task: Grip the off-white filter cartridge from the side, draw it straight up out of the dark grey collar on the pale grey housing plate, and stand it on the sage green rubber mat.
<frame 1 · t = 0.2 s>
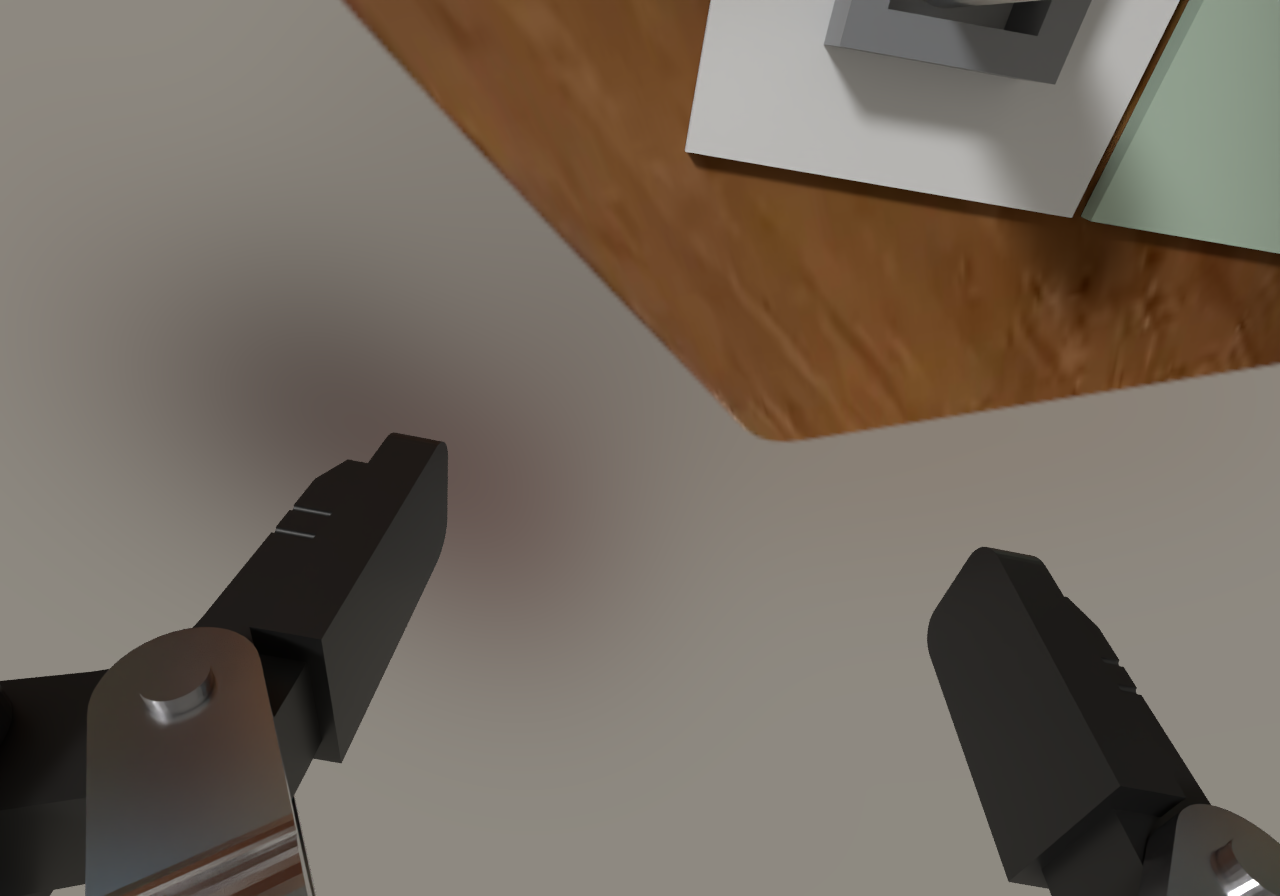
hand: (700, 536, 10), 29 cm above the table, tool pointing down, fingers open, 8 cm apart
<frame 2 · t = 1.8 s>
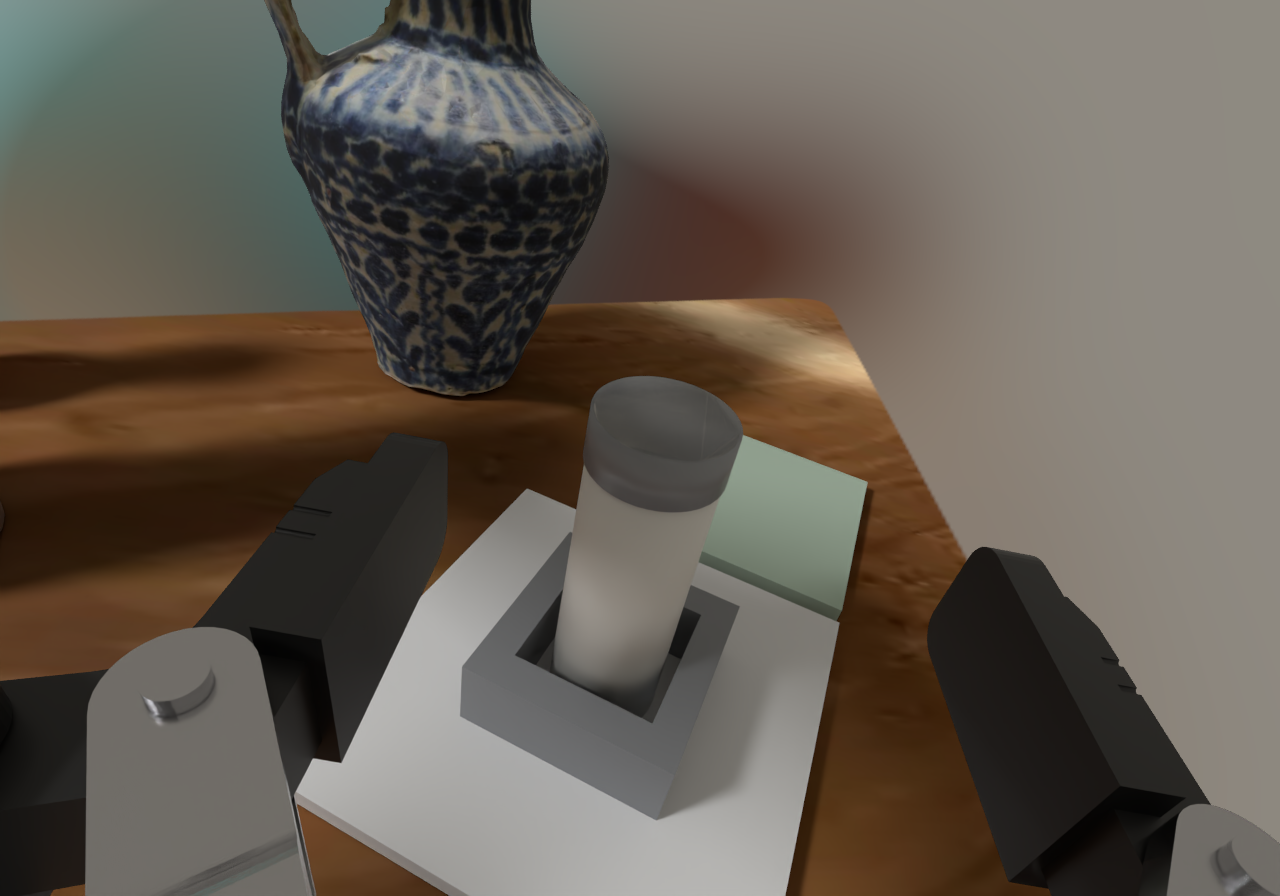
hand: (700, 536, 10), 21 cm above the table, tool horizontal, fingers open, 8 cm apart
mat: (750, 508, 45), on the table
cartridge: (602, 681, 30), point 1 cm above the table, touching housing
jug: (449, 373, 52), on the table
housing: (599, 693, 31), on the table
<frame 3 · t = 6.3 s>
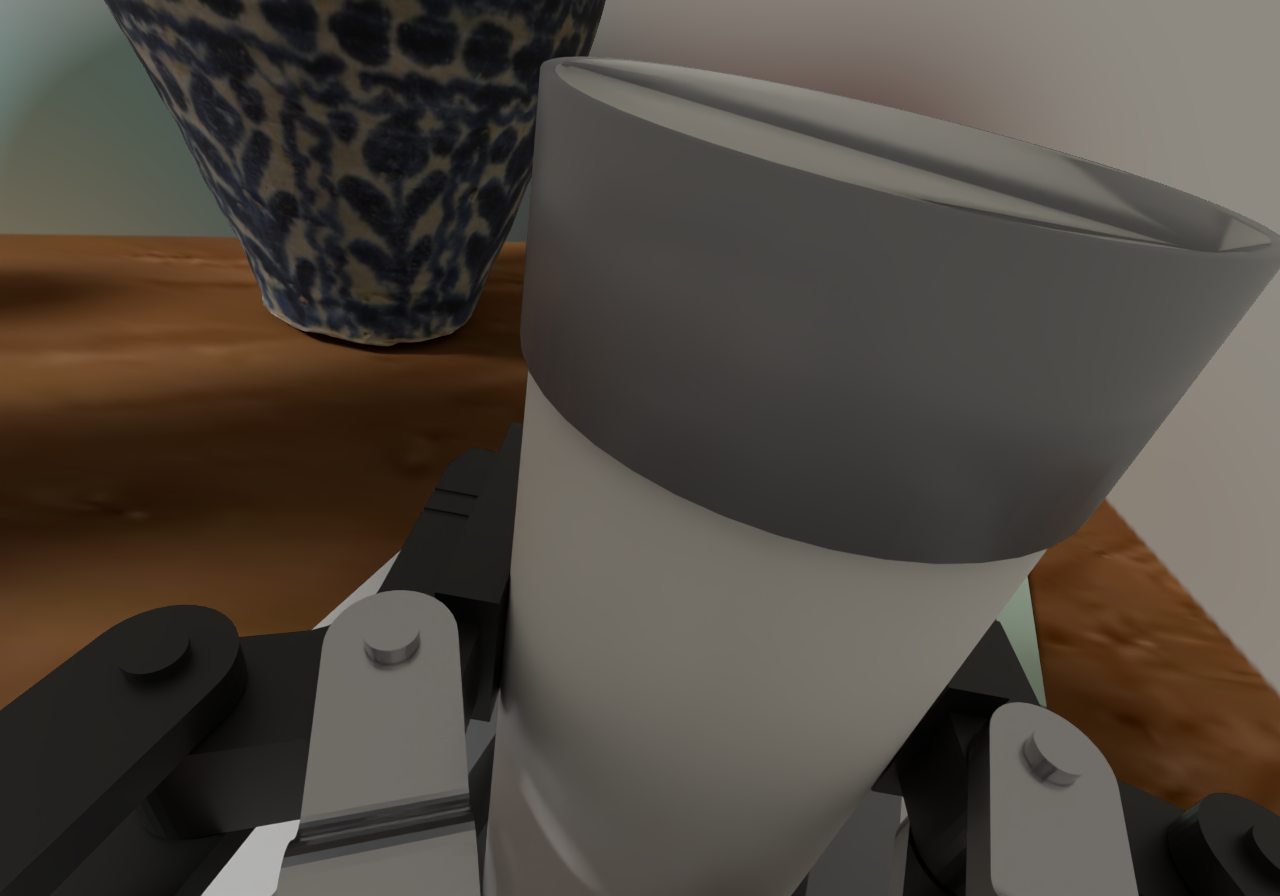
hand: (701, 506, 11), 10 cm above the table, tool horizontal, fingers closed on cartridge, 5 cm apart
mat: (842, 517, 28), on the table
jug: (375, 317, 35), on the table
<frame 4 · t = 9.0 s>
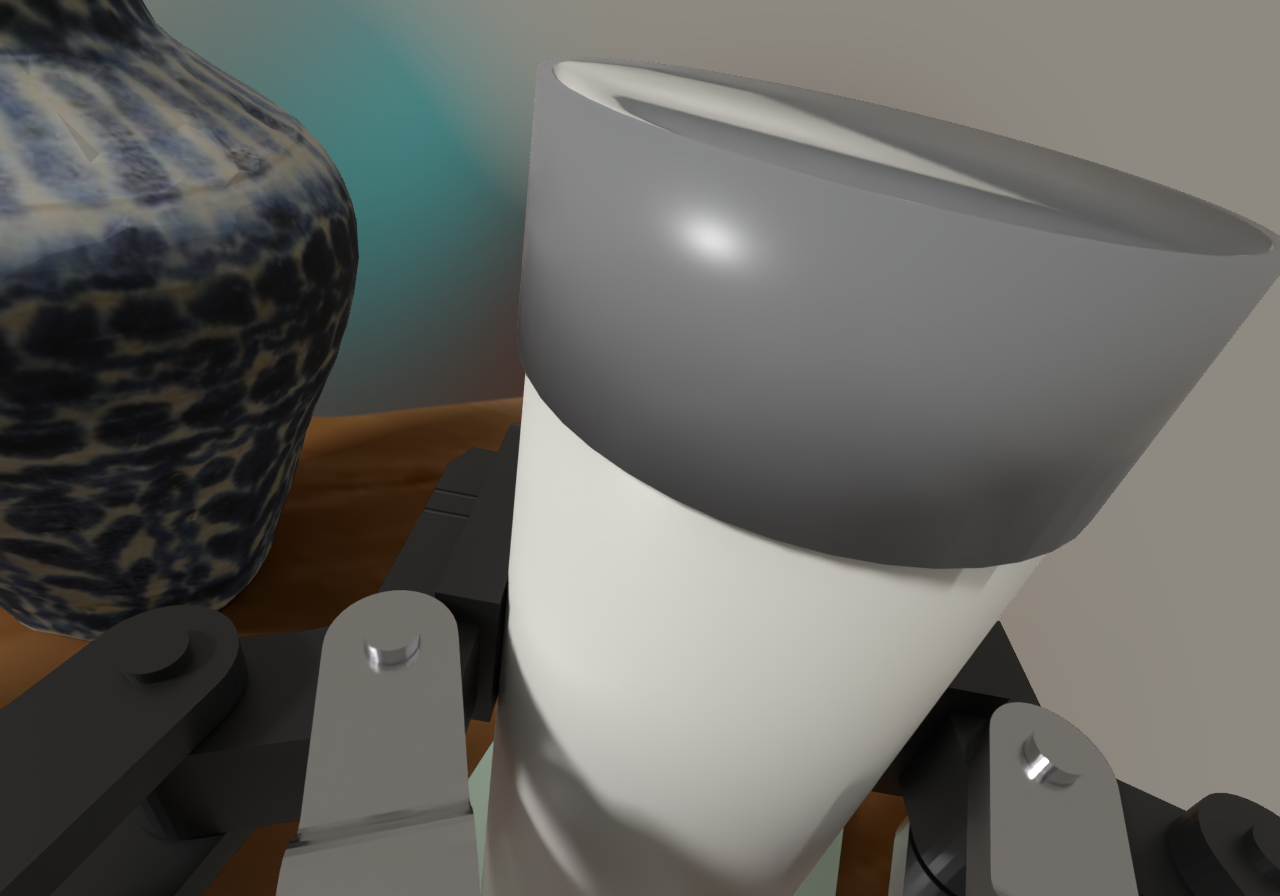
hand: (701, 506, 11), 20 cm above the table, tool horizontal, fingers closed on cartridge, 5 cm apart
mat: (630, 881, 24), on the table
jug: (148, 575, 31), on the table
when the fingers open (11 cm above the table, at t = 12.0 s): cartridge drops 1 cm, resting on mat.
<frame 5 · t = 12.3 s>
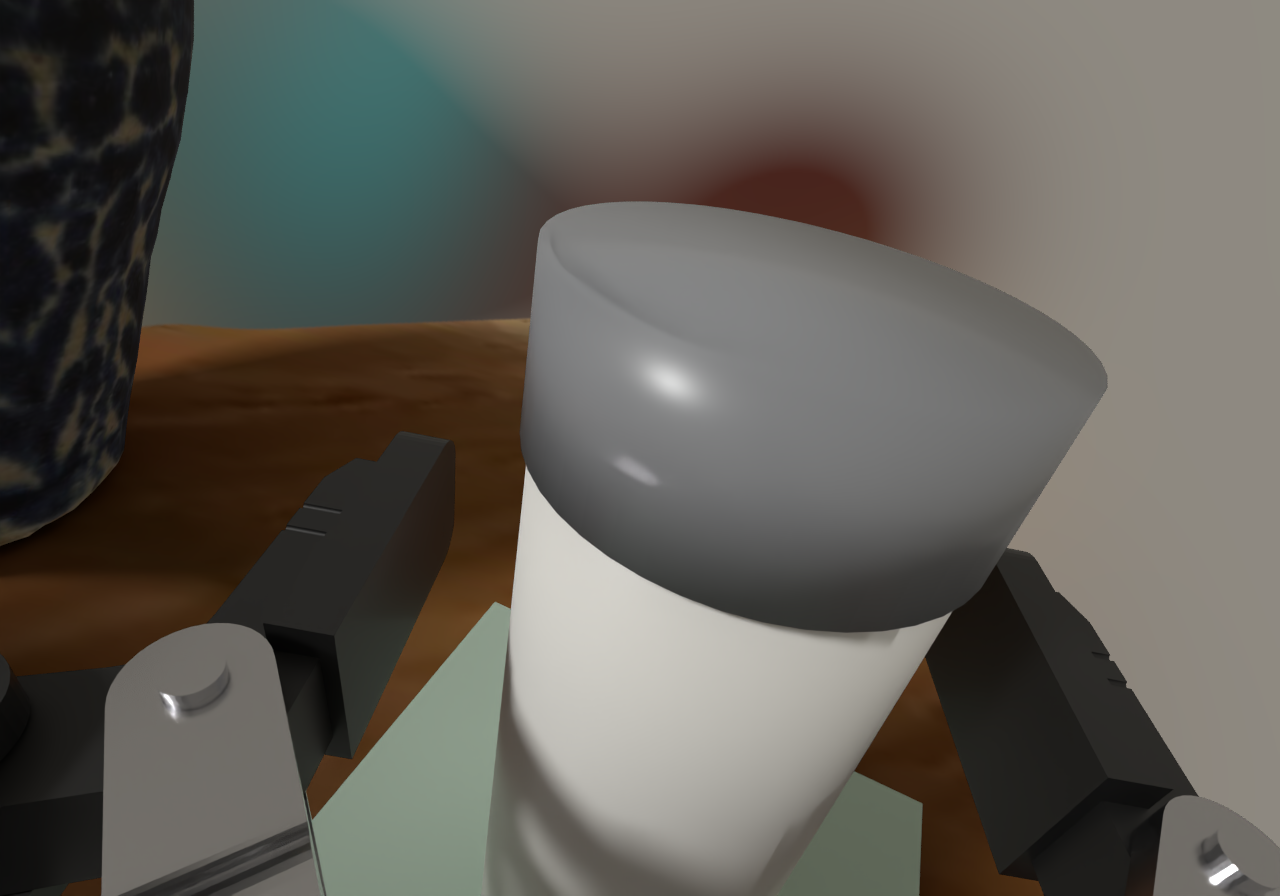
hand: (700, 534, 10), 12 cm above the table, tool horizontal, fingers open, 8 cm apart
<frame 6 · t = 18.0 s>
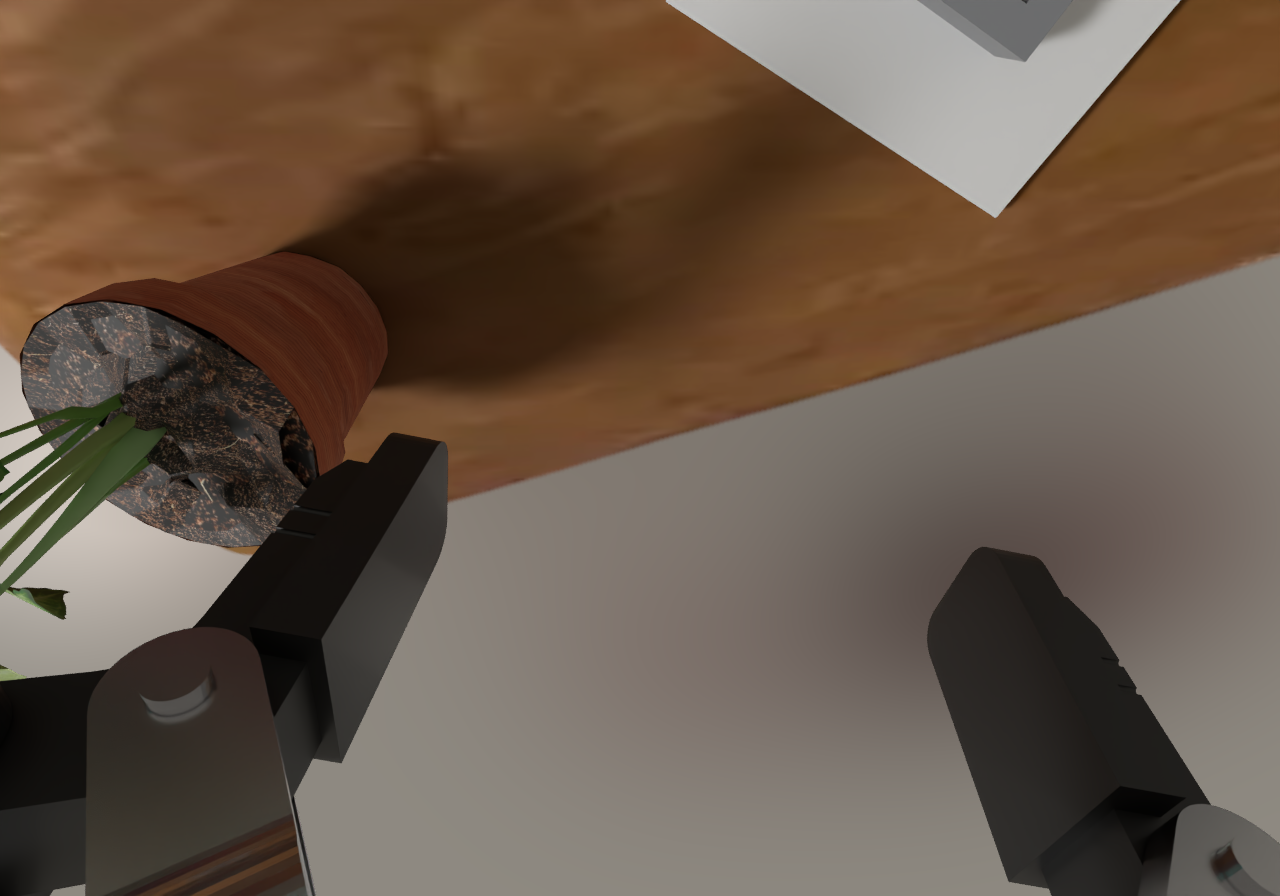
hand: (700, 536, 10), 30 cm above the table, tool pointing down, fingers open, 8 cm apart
potted plant: (307, 335, 43), on the table
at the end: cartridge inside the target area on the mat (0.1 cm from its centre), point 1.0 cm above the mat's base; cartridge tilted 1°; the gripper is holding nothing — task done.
